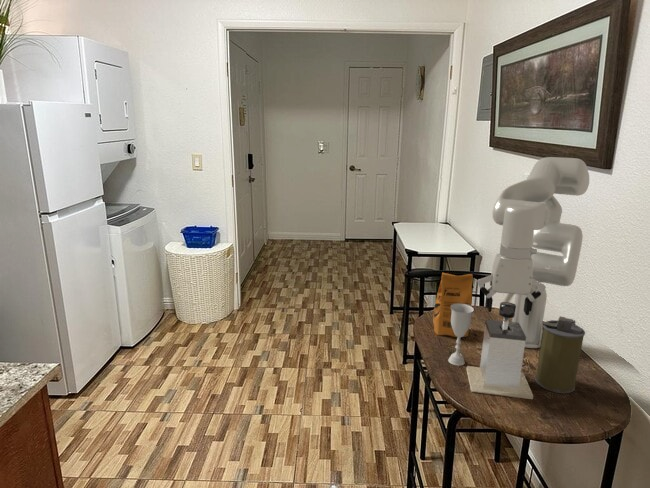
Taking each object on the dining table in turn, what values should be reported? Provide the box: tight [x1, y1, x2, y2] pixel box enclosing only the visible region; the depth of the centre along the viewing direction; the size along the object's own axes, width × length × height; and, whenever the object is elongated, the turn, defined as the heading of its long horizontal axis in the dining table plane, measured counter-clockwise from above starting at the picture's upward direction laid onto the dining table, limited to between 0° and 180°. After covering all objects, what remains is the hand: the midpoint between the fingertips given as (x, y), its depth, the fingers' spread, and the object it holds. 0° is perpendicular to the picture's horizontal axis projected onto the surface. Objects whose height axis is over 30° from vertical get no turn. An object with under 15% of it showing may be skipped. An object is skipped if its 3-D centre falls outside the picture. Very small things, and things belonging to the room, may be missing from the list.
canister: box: [534, 316, 586, 394], centre depth 124 cm, size 11×10×20 cm
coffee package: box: [432, 272, 474, 338], centre depth 156 cm, size 10×12×22 cm
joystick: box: [465, 319, 534, 400], centre depth 124 cm, size 16×12×17 cm
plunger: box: [498, 301, 516, 330], centre depth 123 cm, size 6×6×22 cm
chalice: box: [447, 303, 474, 367], centre depth 136 cm, size 7×7×18 cm
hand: (507, 311), depth 121 cm, fingers open, 9 cm apart
